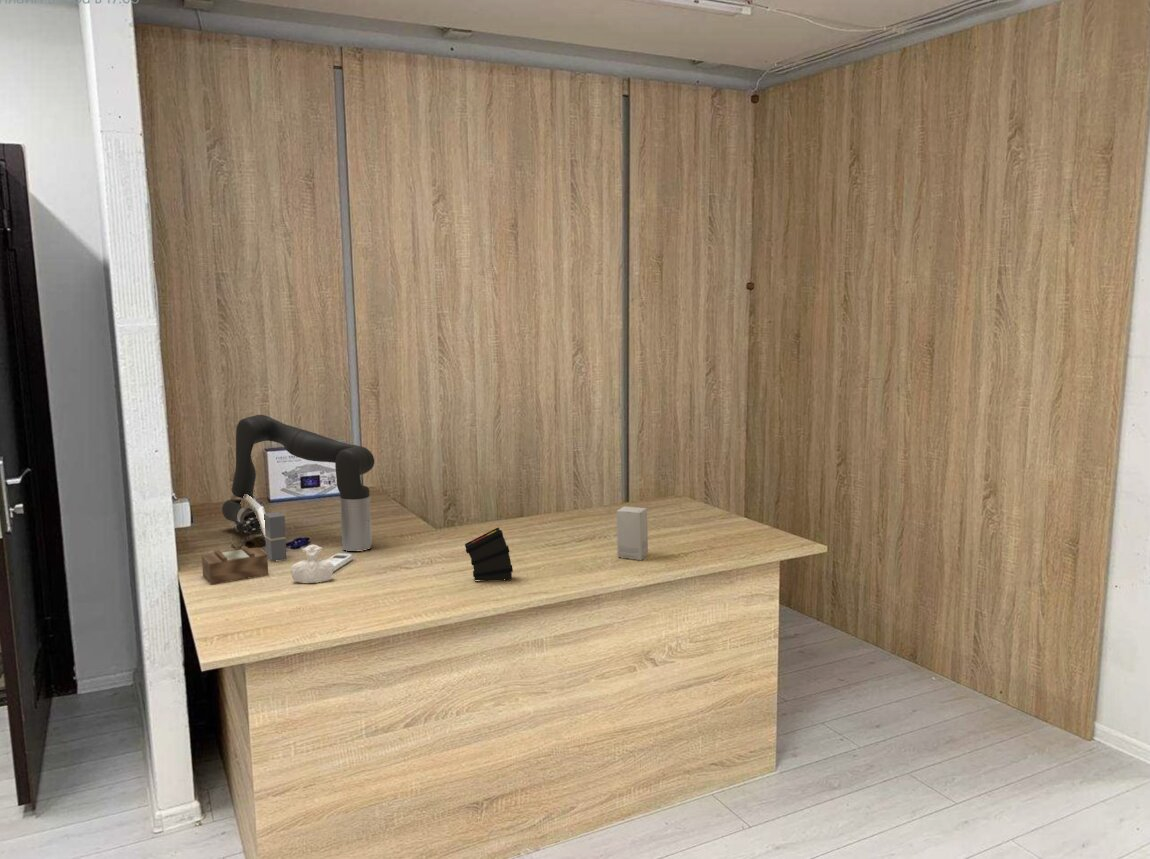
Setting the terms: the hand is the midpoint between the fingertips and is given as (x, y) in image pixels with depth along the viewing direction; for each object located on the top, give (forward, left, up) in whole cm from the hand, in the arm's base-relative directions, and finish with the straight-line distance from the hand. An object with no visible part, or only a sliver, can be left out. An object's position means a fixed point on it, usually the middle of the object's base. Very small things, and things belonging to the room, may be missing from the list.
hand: (264, 528), depth 282 cm
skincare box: (-115, +27, -8) cm, 118 cm away
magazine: (-69, +42, -8) cm, 81 cm away
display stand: (+4, +25, -8) cm, 26 cm away
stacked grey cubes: (-5, +9, -8) cm, 13 cm away
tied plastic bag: (-19, +34, -8) cm, 39 cm away
